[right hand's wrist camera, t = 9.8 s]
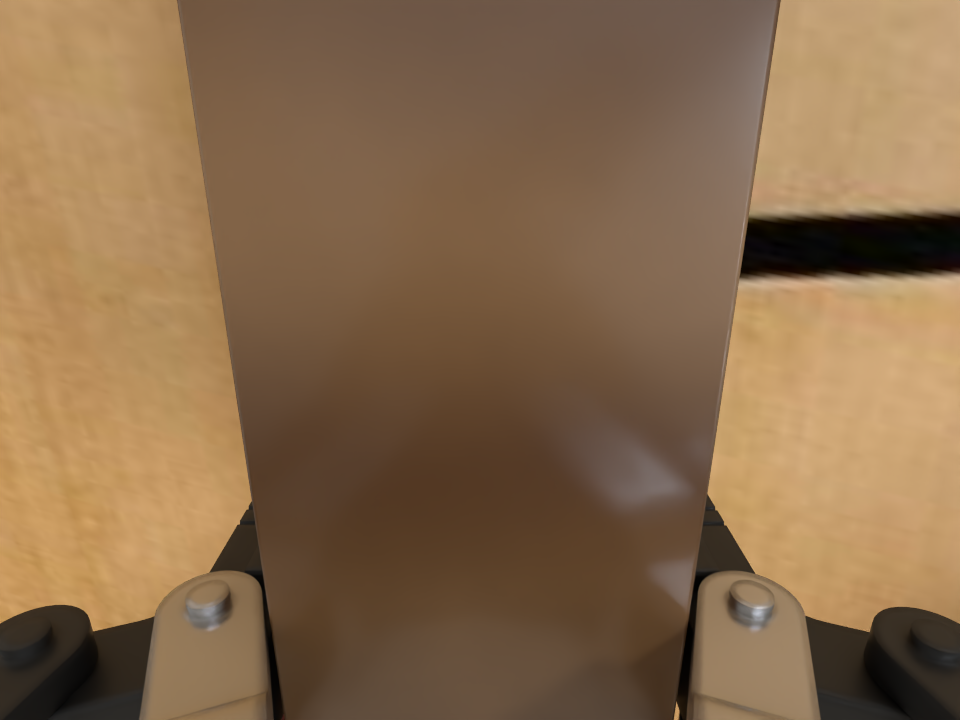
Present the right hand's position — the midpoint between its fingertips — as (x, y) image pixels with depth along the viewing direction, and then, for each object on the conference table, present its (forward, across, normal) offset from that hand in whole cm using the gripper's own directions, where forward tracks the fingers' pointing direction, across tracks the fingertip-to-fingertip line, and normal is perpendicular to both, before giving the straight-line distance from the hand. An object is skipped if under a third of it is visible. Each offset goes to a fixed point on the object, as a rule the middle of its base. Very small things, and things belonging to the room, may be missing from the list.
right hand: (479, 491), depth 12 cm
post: (+3, 0, -24) cm, 25 cm away
